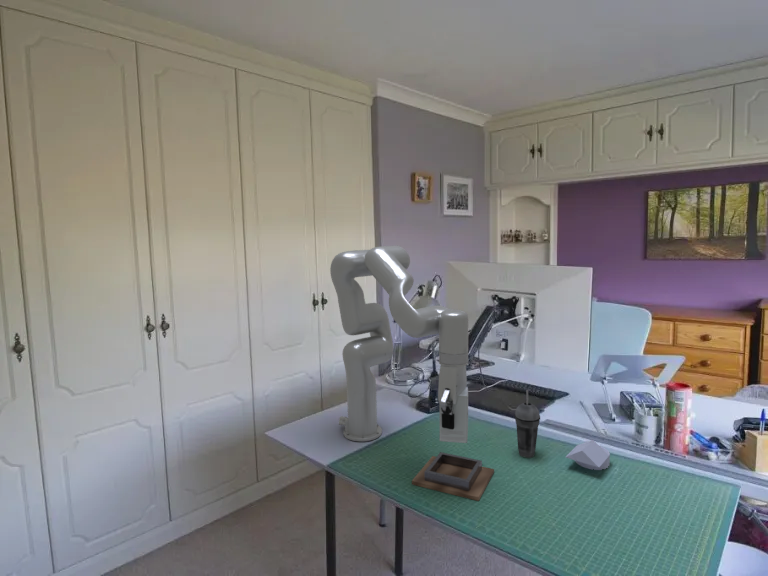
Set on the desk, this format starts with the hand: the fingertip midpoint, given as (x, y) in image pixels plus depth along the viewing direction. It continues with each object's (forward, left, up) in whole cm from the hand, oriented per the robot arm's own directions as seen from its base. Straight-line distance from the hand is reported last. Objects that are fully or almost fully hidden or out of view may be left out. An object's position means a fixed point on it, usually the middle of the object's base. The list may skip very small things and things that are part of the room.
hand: (453, 421), depth 126 cm
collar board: (0, 0, -16) cm, 16 cm away
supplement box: (0, 0, -4) cm, 4 cm away
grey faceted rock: (+32, +23, -16) cm, 43 cm away
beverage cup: (+15, +22, -16) cm, 31 cm away
